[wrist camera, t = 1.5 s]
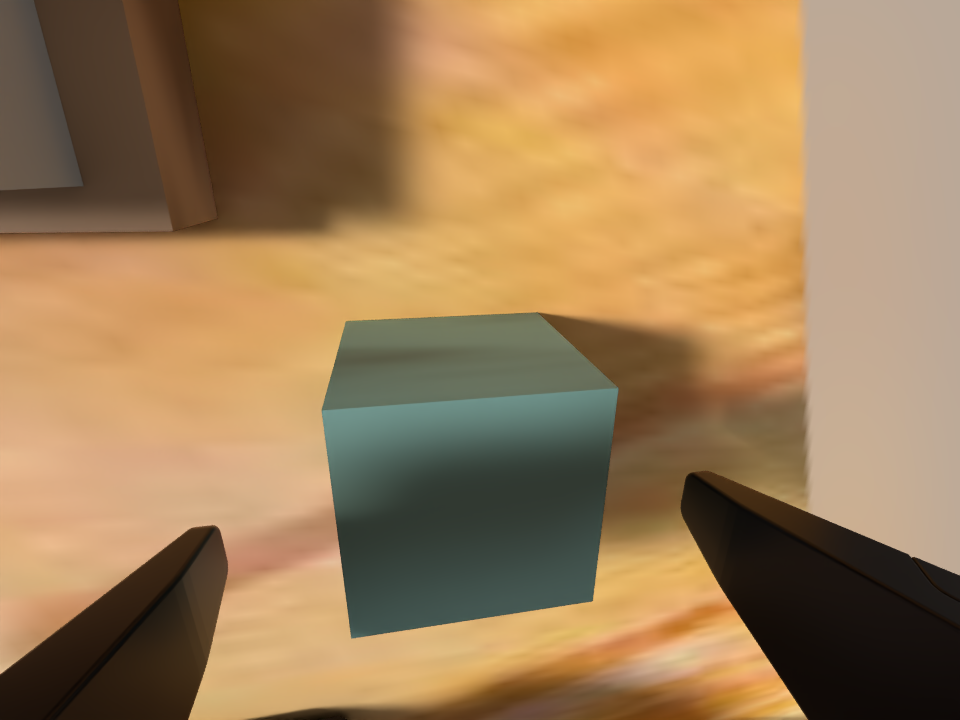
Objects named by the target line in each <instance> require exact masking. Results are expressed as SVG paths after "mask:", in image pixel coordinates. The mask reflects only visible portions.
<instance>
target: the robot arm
mask: <svg viewBox="0 0 960 720" xmlns="http://www.w3.org/2000/svg"><path fill="white" fill-rule="evenodd" d="M681 514H682V517H683V519H684V521H685V523H686V525H687V526H688V528H689V530H690V532H691V534H692V536H693V538H694V539H695V541H696V543H697V545H698V547H699V549H700V551H701V553H702V554H703V556H704V558H705V560H706V562H707V564H708V566H709V568H710V569H711V571H712V573H713V575H714V577H715V578H716V580H717V582H718V584H719V585H720V587H721V588H722V590H723V592H724V593H725V595H726V596H727V598H728V599H729V601H730V602H731V604H732V605H733V607H734V608H735V610H736V612H737V613H738V615H739V616H740V618H741V619H742V621H743V622H744V624H745V625H746V627H747V628H748V630H749V631H750V633H751V634H752V636H753V637H754V639H755V640H756V642H757V643H758V645H759V646H760V648H761V649H762V651H763V652H764V654H765V655H766V657H767V658H768V660H769V661H770V663H771V664H772V666H773V667H774V669H775V670H776V672H777V673H778V675H779V676H780V678H781V679H782V681H783V682H784V684H785V686H786V687H787V689H788V690H789V692H790V693H791V695H792V696H793V698H794V699H795V701H796V702H797V704H798V705H799V707H800V708H801V710H802V711H803V713H804V714H805V716H806V717H807V719H808V720H960V576H959V575H957V574H954V573H952V572H950V571H947V570H945V569H942V568H940V567H937V566H935V565H933V564H930V563H928V562H925V561H923V560H921V559H918V558H915V557H912V558H911V557H910V556H909V555H908V554H906V553H904V552H901V551H899V550H896V549H894V548H892V547H889V546H887V545H884V544H882V543H880V542H877V541H875V540H873V539H870V538H868V537H865V536H863V535H861V534H858V533H856V532H853V531H851V530H849V529H846V528H844V527H841V526H839V525H837V524H834V523H832V522H829V521H827V520H825V519H822V518H820V517H817V516H815V515H813V514H810V513H808V512H806V511H803V510H801V509H798V508H796V507H794V506H791V505H789V504H786V503H784V502H782V501H779V500H777V499H774V498H772V497H770V496H767V495H765V494H762V493H760V492H758V491H755V490H753V489H750V488H748V487H746V486H743V485H741V484H739V483H736V482H734V481H731V480H729V479H727V478H724V477H722V476H719V475H717V474H715V473H712V472H709V471H700V472H692V473H690V474H688V475H687V477H686V480H685V485H684V490H683V495H682V500H681ZM227 574H228V561H227V557H226V553H225V548H224V544H223V540H222V536H221V532H220V530H219V528H218V527H217V526H215V525H211V526H202V527H194V528H191V529H189V530H188V531H186V532H185V533H184V534H182V535H181V536H180V537H178V538H177V539H176V540H175V541H173V542H172V543H171V544H169V545H168V546H167V547H165V548H164V549H163V550H162V551H160V552H159V553H158V554H156V555H155V556H154V557H152V558H151V559H150V560H149V561H147V562H146V563H145V564H143V565H142V566H141V567H139V568H138V569H137V570H136V571H134V572H133V573H132V574H130V575H129V576H128V577H126V578H125V579H124V580H122V581H121V582H120V583H119V584H117V585H116V586H115V587H113V588H112V589H111V590H109V591H108V592H107V593H106V594H104V595H103V596H102V597H100V598H99V599H98V600H96V601H95V602H94V603H93V604H91V605H90V606H89V607H87V608H86V609H85V610H83V611H82V612H81V613H80V614H78V615H77V616H76V617H74V618H73V619H72V620H70V621H69V622H68V623H67V624H65V625H64V626H63V627H61V628H60V629H59V630H57V631H56V632H55V633H54V634H52V635H51V636H50V637H48V638H47V639H46V640H44V641H43V642H42V643H40V644H39V645H38V646H37V647H35V648H34V649H33V650H31V651H30V652H29V653H27V654H26V655H25V656H24V657H22V658H21V659H20V660H18V661H17V662H16V663H14V664H13V665H12V666H11V667H9V668H8V669H7V670H5V671H4V672H3V673H1V674H0V720H188V718H189V716H190V713H191V710H192V707H193V704H194V701H195V698H196V695H197V692H198V689H199V686H200V684H201V681H202V678H203V674H204V671H205V668H206V665H207V661H208V657H209V653H210V649H211V645H212V641H213V636H214V632H215V627H216V623H217V619H218V614H219V610H220V605H221V601H222V597H223V592H224V588H225V583H226V579H227ZM320 720H347V719H345V718H343V717H331V718H326V719H320Z"/></svg>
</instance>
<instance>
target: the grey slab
mask: <svg viewBox="0 0 960 720" xmlns="http://www.w3.org/2000/svg"><path fill="white" fill-rule="evenodd" d="M77 186H84V185H83V182H82V178H81V174H80V170H79V167H78V163H77V159H76V156H75V152H74V148H73V144H72V141H71V137H70V133H69V130H68V126H67V122H66V118H65V115H64V111H63V107H62V104H61V100H60V96H59V92H58V89H57V85H56V81H55V78H54V74H53V70H52V66H51V63H50V59H49V55H48V52H47V48H46V44H45V40H44V37H43V33H42V29H41V26H40V22H39V18H38V14H37V11H36V7H35V3H34V0H0V190H17V189H37V188H57V187H77Z"/></svg>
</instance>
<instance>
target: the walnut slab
mask: <svg viewBox="0 0 960 720" xmlns="http://www.w3.org/2000/svg"><path fill="white" fill-rule="evenodd" d="M34 3H35V7H36V11H37V14H38V18H39V22H40V26H41V29H42V33H43V37H44V40H45V44H46V48H47V52H48V55H49V59H50V63H51V66H52V70H53V74H54V78H55V81H56V85H57V89H58V92H59V96H60V100H61V104H62V107H63V111H64V115H65V118H66V122H67V126H68V130H69V133H70V137H71V141H72V144H73V148H74V152H75V156H76V159H77V163H78V167H79V170H80V174H81V178H82V182H83V185H84V186H77V187H57V188H37V189H17V190H0V233H53V232H151V231H176V230H179V229H183V228H186V227H190V226H193V225H197V224H200V223H204V222H207V221H211V220H214V219H218V217H217V211H216V206H215V200H214V195H213V189H212V184H211V179H210V173H209V168H208V162H207V157H206V151H205V146H204V141H203V135H202V130H201V124H200V119H199V113H198V108H197V102H196V97H195V92H194V86H193V81H192V75H191V70H190V64H189V59H188V54H187V48H186V43H185V37H184V32H183V26H182V21H181V15H180V10H179V5H178V0H34Z"/></svg>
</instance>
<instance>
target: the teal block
mask: <svg viewBox="0 0 960 720" xmlns="http://www.w3.org/2000/svg"><path fill="white" fill-rule="evenodd" d="M617 397H618V387H617V386H616V385H615V384H614V383H613V382H612V381H610V380H609V379H608V378H607V377H606V376H605V375H604V374H603V373H602V372H601V371H600V370H599V369H598V368H597V367H595V366H594V365H593V364H592V363H591V362H590V361H589V360H588V359H587V358H586V357H585V356H584V355H583V354H581V353H580V352H579V351H578V350H577V349H576V348H575V347H574V346H573V345H572V344H571V343H570V342H569V341H568V340H566V339H565V338H564V337H563V336H562V335H561V334H560V333H559V332H558V331H557V330H556V329H555V328H554V327H553V326H551V325H550V324H549V323H548V322H547V321H546V320H545V319H544V318H543V317H542V316H541V315H540V314H539V313H515V314H493V315H472V316H450V317H428V318H406V319H384V320H363V321H346V323H345V327H344V330H343V334H342V338H341V341H340V345H339V349H338V352H337V356H336V360H335V363H334V367H333V371H332V374H331V378H330V382H329V385H328V389H327V393H326V396H325V400H324V404H323V407H322V417H323V425H324V432H325V440H326V448H327V455H328V463H329V471H330V478H331V486H332V494H333V501H334V509H335V517H336V524H337V532H338V540H339V547H340V555H341V563H342V570H343V578H344V586H345V593H346V601H347V609H348V616H349V624H350V632H351V639H352V638H358V637H364V636H371V635H377V634H384V633H390V632H397V631H403V630H410V629H416V628H423V627H429V626H436V625H442V624H449V623H455V622H462V621H468V620H474V619H481V618H487V617H494V616H500V615H507V614H513V613H520V612H526V611H533V610H539V609H546V608H552V607H559V606H565V605H572V604H578V603H585V602H591V601H593V594H594V586H595V578H596V570H597V561H598V553H599V545H600V537H601V528H602V520H603V512H604V504H605V495H606V487H607V479H608V471H609V463H610V454H611V446H612V438H613V430H614V421H615V413H616V405H617Z"/></svg>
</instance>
